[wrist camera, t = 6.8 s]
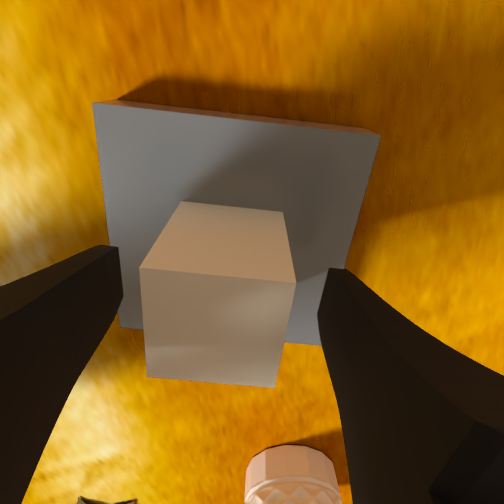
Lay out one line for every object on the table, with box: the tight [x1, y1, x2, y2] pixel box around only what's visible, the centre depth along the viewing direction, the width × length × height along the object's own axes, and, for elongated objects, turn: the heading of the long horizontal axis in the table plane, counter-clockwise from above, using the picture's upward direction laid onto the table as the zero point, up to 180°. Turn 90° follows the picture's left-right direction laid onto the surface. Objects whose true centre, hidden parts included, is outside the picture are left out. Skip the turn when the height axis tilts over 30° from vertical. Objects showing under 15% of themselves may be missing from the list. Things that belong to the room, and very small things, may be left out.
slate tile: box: [92, 100, 381, 346], centre depth 14 cm, size 10×10×2 cm
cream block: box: [139, 201, 296, 388], centre depth 11 cm, size 4×4×5 cm
